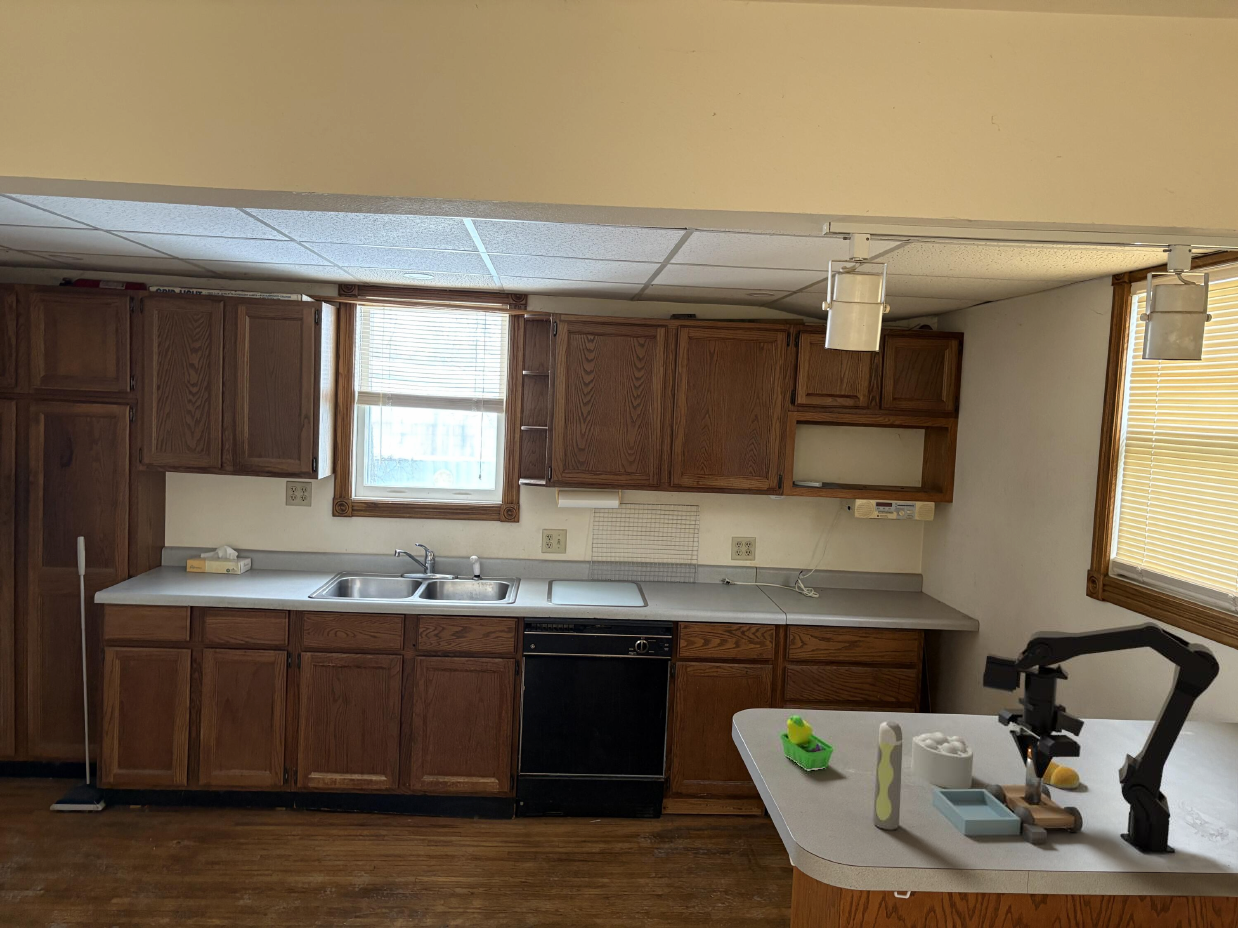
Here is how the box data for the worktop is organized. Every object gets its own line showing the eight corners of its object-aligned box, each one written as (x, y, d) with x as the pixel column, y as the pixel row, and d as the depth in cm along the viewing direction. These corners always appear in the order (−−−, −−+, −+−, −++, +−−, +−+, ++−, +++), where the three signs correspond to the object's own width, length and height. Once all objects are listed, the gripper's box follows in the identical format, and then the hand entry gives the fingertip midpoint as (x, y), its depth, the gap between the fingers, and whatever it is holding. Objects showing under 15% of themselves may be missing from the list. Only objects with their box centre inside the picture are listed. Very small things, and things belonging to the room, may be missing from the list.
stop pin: (1044, 802, 166) (1047, 752, 166) (1030, 802, 166) (1033, 752, 166) (1035, 795, 169) (1038, 746, 169) (1021, 795, 169) (1024, 746, 169)
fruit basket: (835, 770, 187) (837, 720, 187) (801, 775, 184) (803, 725, 184) (805, 751, 198) (807, 703, 197) (772, 755, 195) (775, 707, 194)
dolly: (1091, 843, 158) (1093, 820, 158) (1031, 844, 157) (1033, 821, 157) (1037, 800, 176) (1039, 780, 175) (983, 801, 174) (984, 780, 174)
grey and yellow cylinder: (878, 816, 166) (883, 716, 165) (902, 824, 163) (908, 722, 162) (868, 824, 163) (873, 723, 161) (893, 833, 160) (898, 729, 158)
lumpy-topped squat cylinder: (940, 762, 194) (943, 725, 194) (984, 786, 182) (986, 747, 181) (904, 768, 190) (906, 730, 190) (946, 793, 178) (948, 752, 178)
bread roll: (1070, 793, 180) (1071, 775, 180) (1027, 779, 187) (1028, 761, 187) (1085, 783, 186) (1087, 765, 185) (1043, 769, 192) (1044, 752, 192)
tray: (1019, 834, 161) (1020, 819, 161) (964, 835, 160) (965, 819, 160) (983, 803, 174) (984, 788, 174) (932, 803, 173) (933, 789, 173)
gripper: (1109, 713, 158) (1104, 794, 159) (1049, 681, 177) (1045, 754, 178) (1053, 713, 157) (1048, 795, 158) (999, 681, 176) (994, 755, 176)
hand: (1034, 773), depth 167 cm, fingers closed on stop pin, 3 cm apart
